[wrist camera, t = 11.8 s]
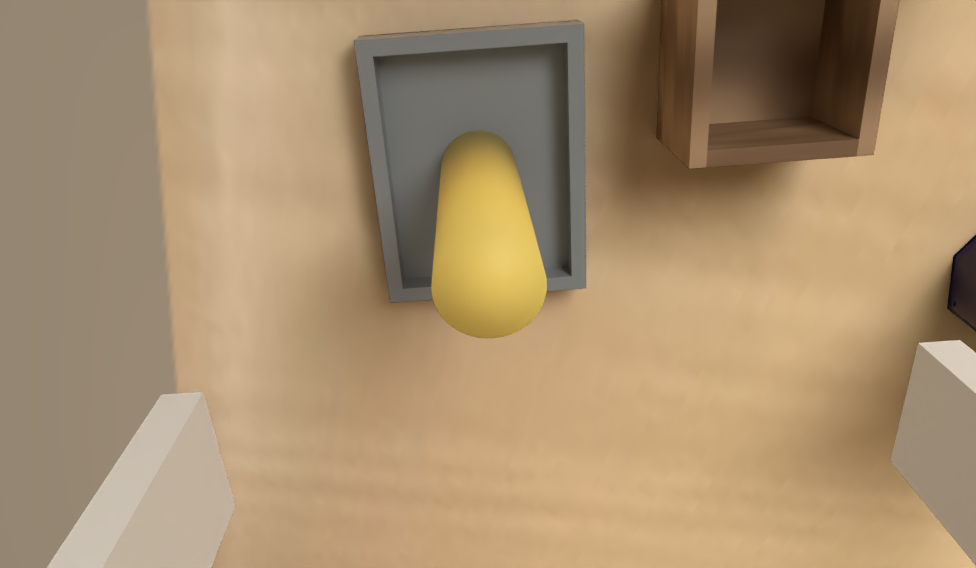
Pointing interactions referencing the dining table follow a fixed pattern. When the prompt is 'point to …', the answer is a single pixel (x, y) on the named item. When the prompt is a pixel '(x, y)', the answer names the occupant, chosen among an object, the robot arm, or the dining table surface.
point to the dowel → (485, 241)
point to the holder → (772, 79)
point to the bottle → (964, 284)
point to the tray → (476, 107)
